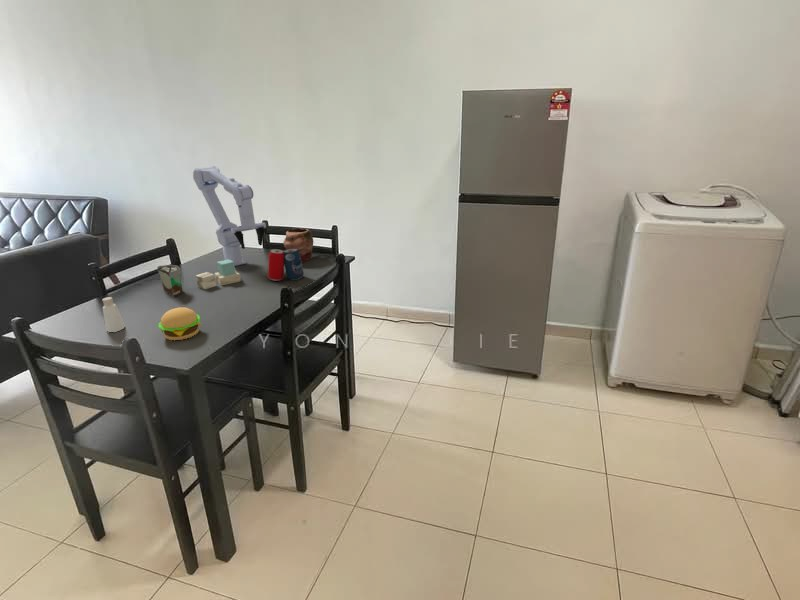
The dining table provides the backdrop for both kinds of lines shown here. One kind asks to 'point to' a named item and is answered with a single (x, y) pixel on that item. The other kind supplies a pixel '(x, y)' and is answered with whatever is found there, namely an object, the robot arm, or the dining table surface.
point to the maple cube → (205, 280)
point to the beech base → (227, 278)
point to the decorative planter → (300, 242)
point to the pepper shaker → (112, 315)
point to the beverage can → (276, 265)
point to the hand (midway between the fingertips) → (251, 246)
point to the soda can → (293, 263)
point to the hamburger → (179, 323)
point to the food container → (171, 279)
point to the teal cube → (226, 267)
